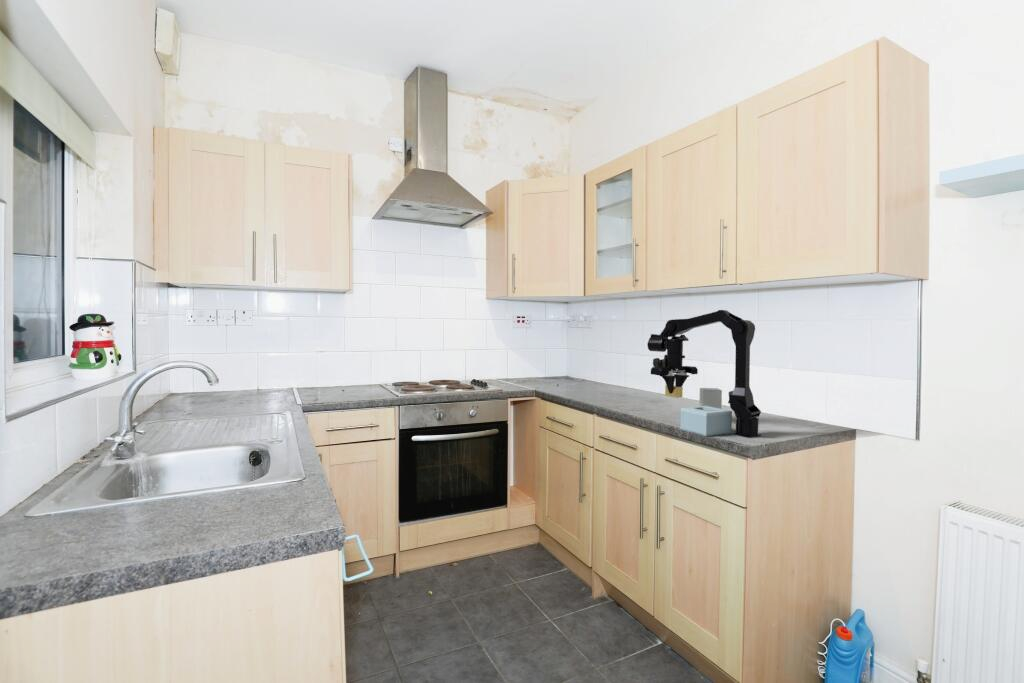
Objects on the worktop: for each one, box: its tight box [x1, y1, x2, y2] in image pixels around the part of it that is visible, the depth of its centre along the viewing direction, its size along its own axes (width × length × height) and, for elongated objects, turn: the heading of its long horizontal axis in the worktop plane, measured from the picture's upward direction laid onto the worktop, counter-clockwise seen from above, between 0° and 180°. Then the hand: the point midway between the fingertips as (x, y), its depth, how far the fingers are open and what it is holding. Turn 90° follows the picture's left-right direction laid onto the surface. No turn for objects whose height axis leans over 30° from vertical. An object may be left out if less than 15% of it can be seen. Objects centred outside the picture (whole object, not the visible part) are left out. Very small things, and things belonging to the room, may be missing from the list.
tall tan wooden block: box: [664, 384, 683, 399], centre depth 195 cm, size 3×6×4 cm, turn 25°
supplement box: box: [698, 387, 723, 409], centre depth 203 cm, size 7×7×13 cm
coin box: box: [679, 405, 733, 438], centre depth 181 cm, size 12×12×8 cm
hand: (673, 393), depth 195 cm, fingers closed on tall tan wooden block, 3 cm apart
